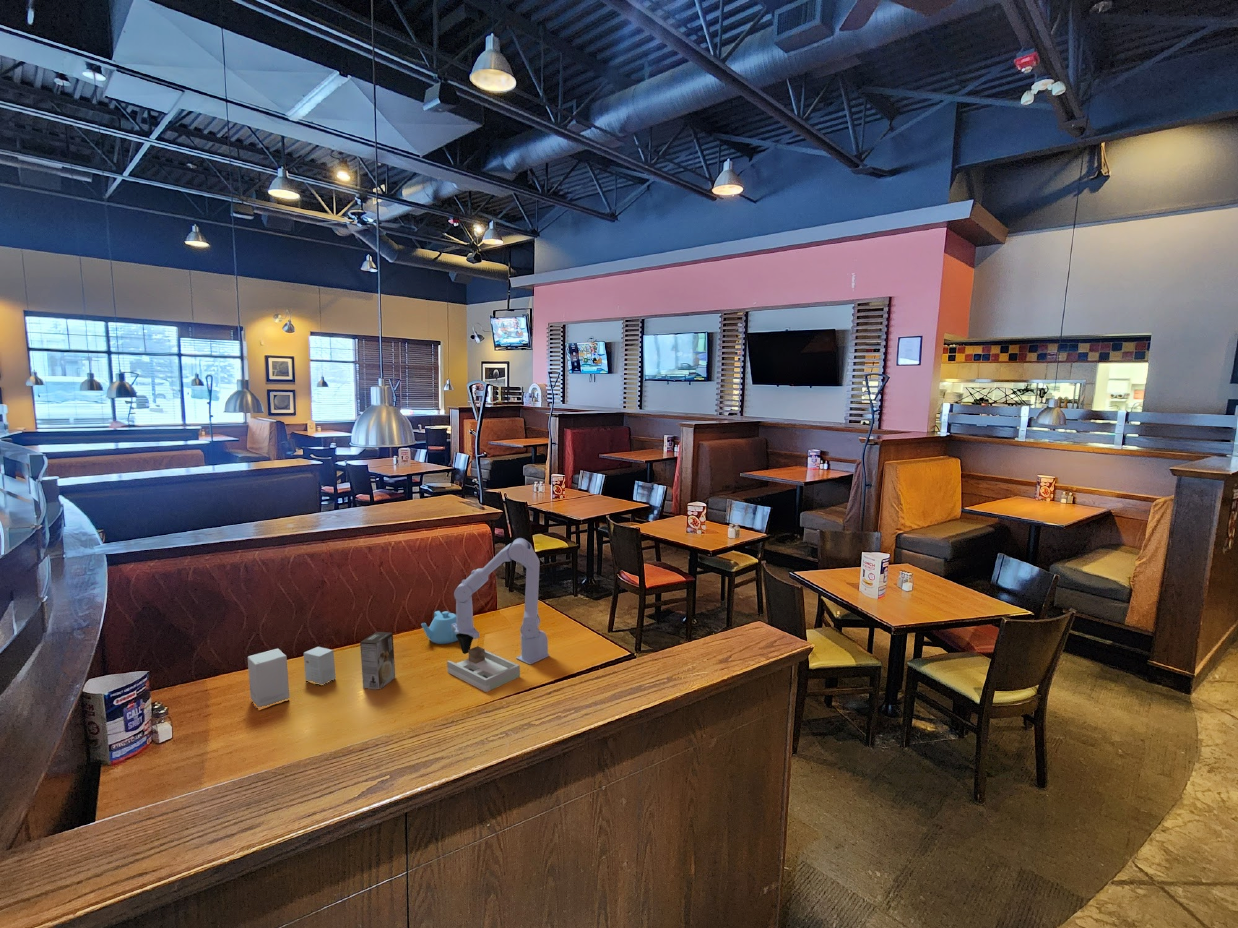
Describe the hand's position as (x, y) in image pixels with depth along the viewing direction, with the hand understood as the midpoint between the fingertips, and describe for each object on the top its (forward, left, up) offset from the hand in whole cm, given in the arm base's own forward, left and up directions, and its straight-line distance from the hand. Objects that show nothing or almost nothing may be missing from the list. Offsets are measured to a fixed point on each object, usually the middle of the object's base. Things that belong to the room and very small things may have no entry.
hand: (466, 652), depth 209 cm
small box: (+41, -25, -3) cm, 48 cm away
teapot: (-7, -24, -3) cm, 25 cm away
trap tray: (+3, +14, -3) cm, 15 cm away
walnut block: (0, +7, -1) cm, 7 cm away
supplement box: (+57, -23, -3) cm, 61 cm away
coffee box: (+29, -8, -3) cm, 30 cm away
